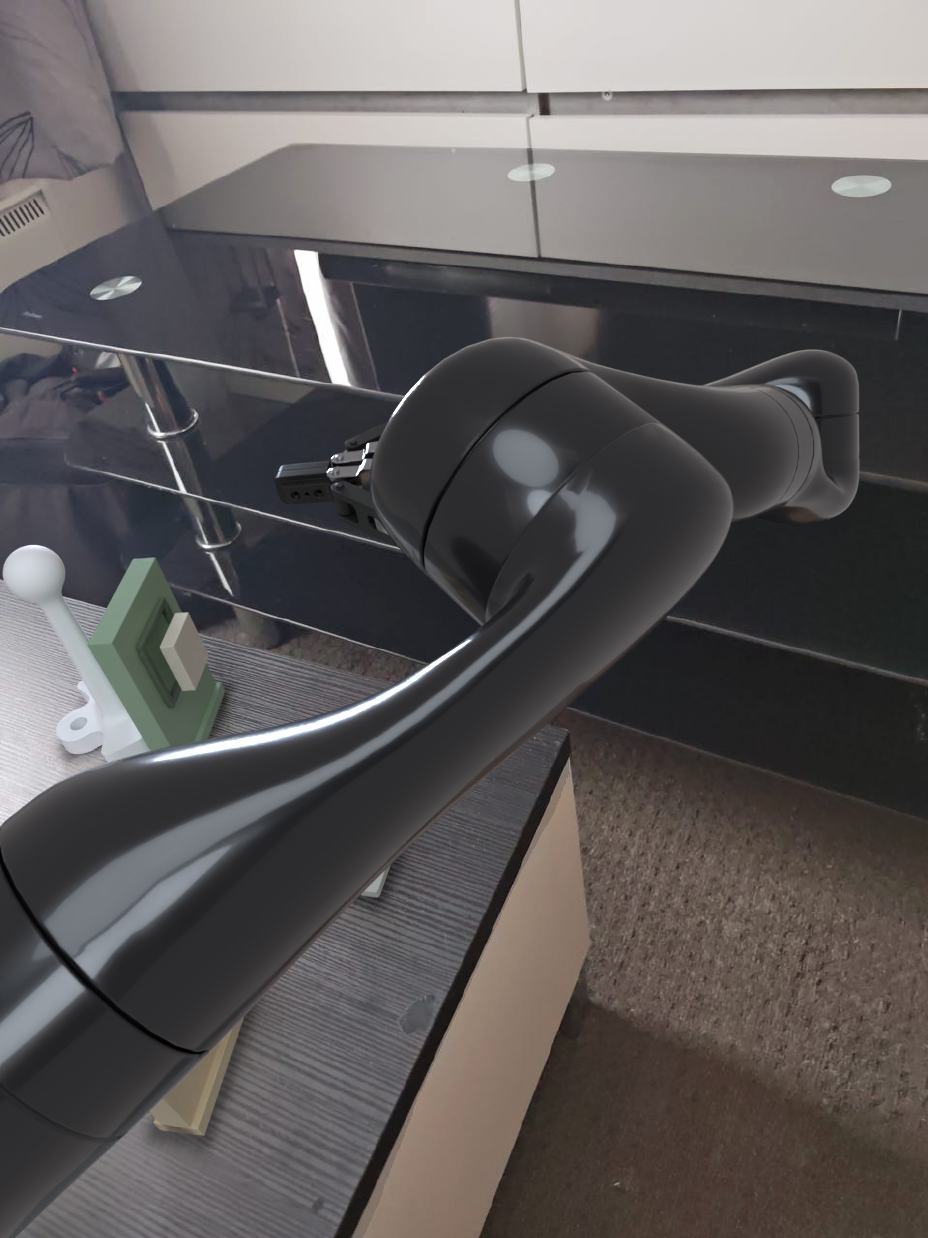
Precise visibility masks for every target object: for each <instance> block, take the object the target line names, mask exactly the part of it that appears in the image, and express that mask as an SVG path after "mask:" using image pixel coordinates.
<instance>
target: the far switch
mask: <svg viewBox="0 0 928 1238" xmlns="http://www.w3.org/2000/svg"><path fill="white" fill-rule="evenodd" d="M160 649H161V651H162V653H163V655H164V657H165V659H166V661H167V663H168V665H169V667H170V668H171V670H172V672H173V674H174V676H175V678H176V680H177V682H178V684H179V686H180V687H181V689H182V691H191V690H196V688H197V686H198V683H199V680H200V678H201V675H202V673H203V670H204V668H205V665H206V663H208V661H209V657H210V654H209V652H208V650H207V648H206V646H205V643H204V641H203V640H202V637H201V636H200V634H199V631H198V629H197V626H196V625H195V623H194V620H193V619H192V616H191V615H190V613H189V612H182V613H175V614H174V617H173V619H172V621H171V623H170V626H169V628H168V630H167V632H166V634H165V637H164V639H163V641H162V643H161V645H160Z"/></svg>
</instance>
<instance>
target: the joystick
mask: <svg viewBox="0 0 928 1238" xmlns="http://www.w3.org/2000/svg"><path fill="white" fill-rule="evenodd" d="M2 579H3V582H4V584H5V587H6V588H7V590H8V591H9V592H10V593H11V595H14V596H15V597H16V598H18V599H20V600H23V601H25V602H30V603H32V604H35V605H36V606H38V607H39V609H40V610H41V611H42V613H43V614H44V616H45V618H46V619H47V621H48V623H49V625H50V626H51V628H52V630H53V632H54V633H55V635H56V637H57V639H58V640H59V642H60V643H61V645H62V647H63V649H64V651H65V652H66V655H67V656H68V657H69V659H70V661H71V663H72V665H73V666H74V668H75V670H76V671H77V673H78V675H79V676H80V678H81V680H80V681H79V682H78V683H77V685H76V688H77V689H78V691H79V693H80V694H81V696H82V697H83V699H84V701H85V702H86V704H85V705H83V706H82V707H81V706H80V707H79V708H76V709H73V710H71V711H69V712H68V713H67V714H66V715H64V717H62V718H61V719H60V720H59V722H58V724H57V725H56V729H55V735H56V737H57V738H58V739H59V741H60V743H61V744H62V746H63V747H64V748H65V750H66V751H67V752H68V753H70V754H73V755H82V754H87V753H90V752H92V751H94V750H96V749H98V747H100V746H101V749H100V750H101V751H100V753H101V755H102V756H103V758H104V760H105V761H106V763H107V762H110V761H114V760H117V759H120V758H124V757H128V756H132V755H136V754H140V753H144V752H148V751H150V749H149V748H148V746H147V744H146V743H145V741H144V739H143V738H142V736H141V734H140V733H139V731H138V729H137V728H136V726H135V724H134V723H133V721H132V719H131V718H130V716H129V714H128V713H127V711H126V709H125V708H124V706H123V704H122V703H121V701H120V699H119V698H118V696H117V694H116V693H115V691H114V689H113V687H112V686H111V684H110V682H109V681H108V679H107V677H106V676H105V674H104V672H103V671H102V669H101V667H100V666H99V664H98V662H97V661H96V659H95V657H94V656H93V654H92V652H91V651H90V649H89V647H88V646H87V644H88V642H89V640H90V638H89V637H90V636H88V634H87V633H86V631H85V630H84V628H83V626H82V625H81V623H80V622H79V620H78V618H77V617H76V615H75V614H74V612H73V610H72V609H71V607H70V606H69V604H68V603H67V601H66V599H65V598H64V596H63V591H62V590H63V586H64V584H65V580H66V568H65V564H64V562H63V560H62V558H60V556H59V555H58V554H57V553H56V552H55V551H53V550H52V549H51V548H49V547H46V546H43V545H38V544H29V545H24V546H21V547H19V548H17V549H15V550H14V551H13V552H11V553H10V554H9V555H8V557H7V558H6V559H5V562H4V564H3V566H2Z"/></svg>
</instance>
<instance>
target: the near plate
mask: <svg viewBox="0 0 928 1238" xmlns="http://www.w3.org/2000/svg"><path fill="white" fill-rule="evenodd" d="M244 1018H245V1016H244V1017H243V1018H242V1019H241V1020H240V1021H239V1022H238V1023H237V1024H236V1025H235V1026H234V1027H233V1028H232V1029H231V1030H230V1031H229V1032H228V1033H227V1035H226V1036H225V1037H224V1038H223V1039H222V1040H221V1041H220V1042H219V1043H218V1044H217V1045H216V1046H215V1047H214V1048H213V1049H211V1050H210V1051H209V1053H208V1054H207V1055H206V1056H205V1057H204V1058H203V1059H202V1060H201V1061H200V1062H199V1063H198V1064H197V1065H196V1066H195V1067H194V1068H193V1069H192V1070H191V1071H190V1072H189V1073H188V1074H187V1075H186V1076H185V1077H184V1078H183V1079H182V1080H181V1081H180V1082H179V1083H178V1084H177V1085H176V1086H175V1087H174V1088H173V1089H172V1090H171V1091H169V1092H168V1093H167V1094H166V1095H165V1096H164V1097H163V1098H162V1099H161V1100H160V1101H159V1102H158V1103H157V1104H156V1105H155V1106H154V1107H153V1108H152V1109H151V1110H150V1111H149V1112H148V1113H149V1114H150V1115H151V1116H152V1117H153V1118H154V1120H153V1124H154V1126H156V1127H157V1128H158V1129H159V1130H160V1131H164V1132H173V1133H178V1134H186V1135H187V1134H188V1135H195V1136H202V1137H203V1136H205V1135H206V1132H207V1130H208V1126H209V1123H210V1120H211V1117H212V1114H213V1111H214V1108H215V1106H216V1103H217V1100H218V1096H219V1094H220V1090H221V1087H222V1084H223V1081H224V1078H225V1076H226V1072H227V1069H228V1067H229V1064H230V1061H231V1057H232V1054H233V1051H234V1048H235V1045H236V1043H237V1039H238V1037H239V1033H240V1031H241V1027H242V1025H243V1021H244Z"/></svg>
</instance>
